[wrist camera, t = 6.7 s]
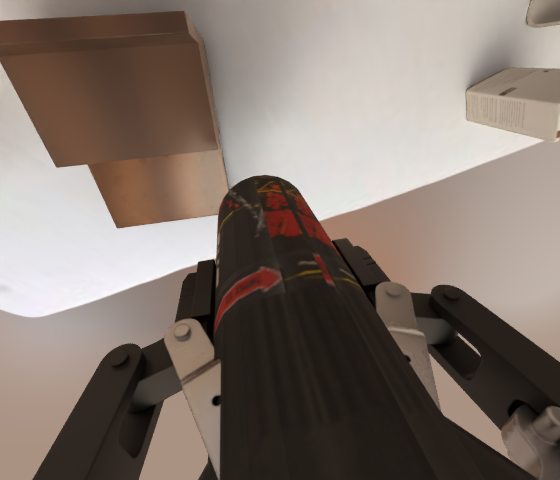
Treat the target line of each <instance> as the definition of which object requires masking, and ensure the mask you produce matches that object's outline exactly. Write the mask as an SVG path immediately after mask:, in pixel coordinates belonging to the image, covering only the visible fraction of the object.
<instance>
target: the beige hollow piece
mask: <svg viewBox="0 0 560 480" xmlns="http://www.w3.org/2000/svg"><path fill="white" fill-rule="evenodd" d="M527 22H528V24H529V25H530V26H532V27H535V28H540V27H546V26H553V25H559V24H560V0H531V2H530V6H529V9H528V13H527Z"/></svg>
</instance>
